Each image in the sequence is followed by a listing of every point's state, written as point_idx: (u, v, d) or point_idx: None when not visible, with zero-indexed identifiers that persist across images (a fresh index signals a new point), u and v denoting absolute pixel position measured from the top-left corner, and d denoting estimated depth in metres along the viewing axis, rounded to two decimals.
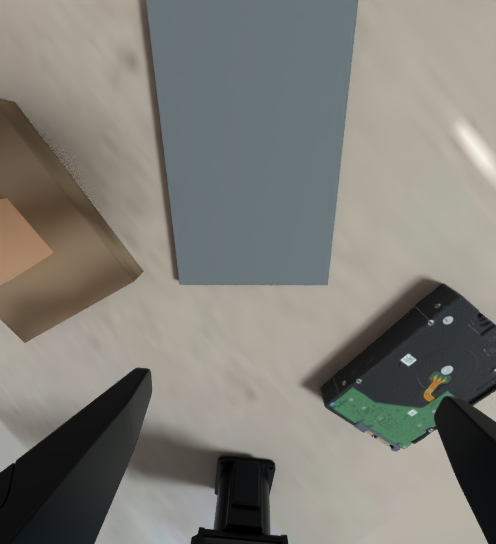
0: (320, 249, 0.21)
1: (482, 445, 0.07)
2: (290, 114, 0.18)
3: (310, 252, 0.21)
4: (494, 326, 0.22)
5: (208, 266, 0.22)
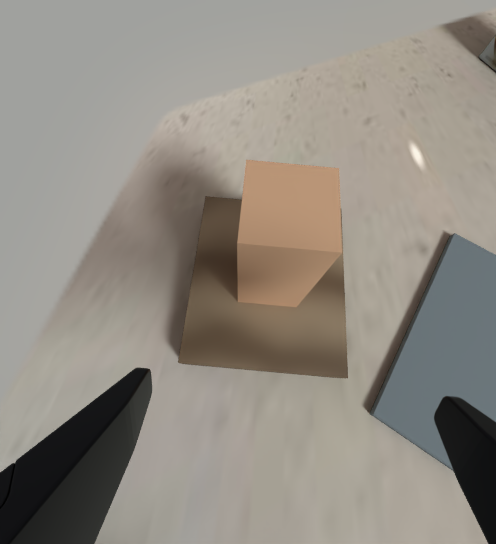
0: None
1: (481, 444, 0.07)
2: None
3: None
4: None
5: (413, 416, 0.20)
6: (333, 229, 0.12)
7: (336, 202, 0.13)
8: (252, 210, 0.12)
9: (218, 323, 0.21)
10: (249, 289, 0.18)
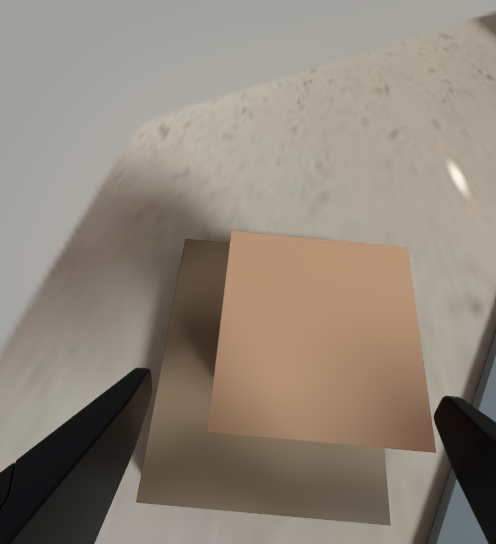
0: None
1: (482, 445, 0.07)
2: None
3: None
4: None
5: None
6: (411, 390, 0.06)
7: (410, 324, 0.06)
8: (242, 345, 0.06)
9: (198, 434, 0.14)
10: None
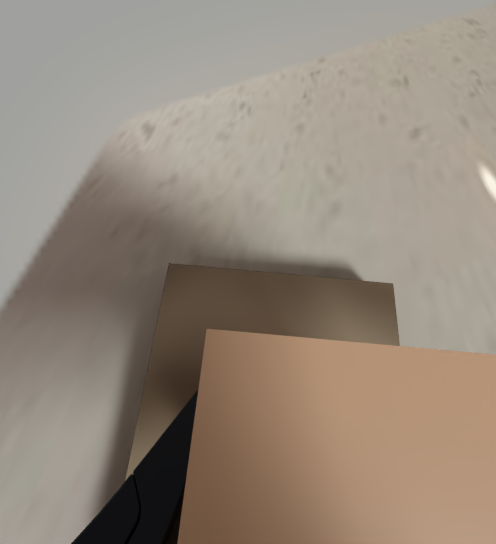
0: None
1: None
2: None
3: None
4: None
5: None
6: None
7: None
8: None
9: None
10: None
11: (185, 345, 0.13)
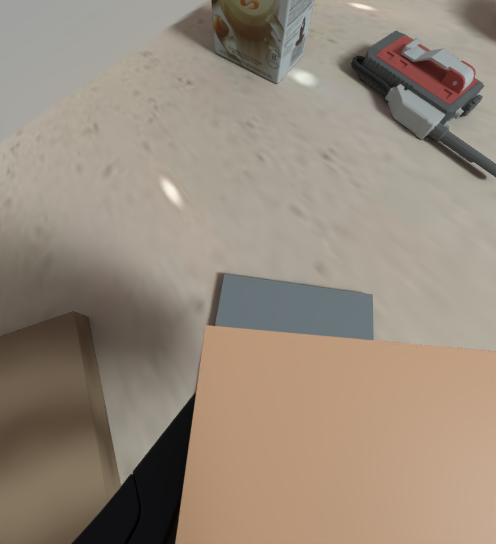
0: None
1: None
2: None
3: None
4: None
5: None
6: None
7: None
8: None
9: None
10: None
11: None
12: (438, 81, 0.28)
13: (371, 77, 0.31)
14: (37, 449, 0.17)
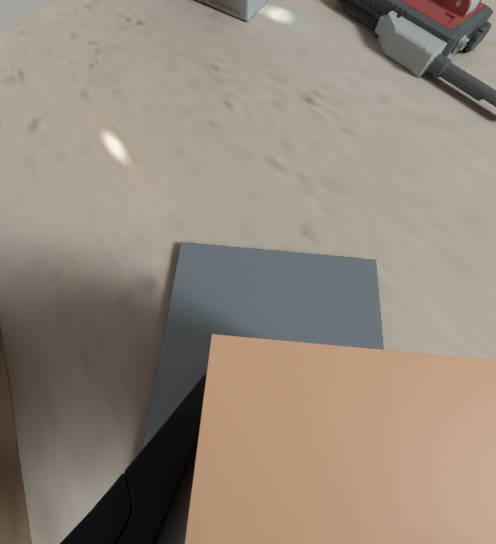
0: None
1: None
2: None
3: None
4: None
5: None
6: None
7: None
8: None
9: None
10: None
11: None
12: (438, 4, 0.23)
13: (358, 7, 0.26)
14: None
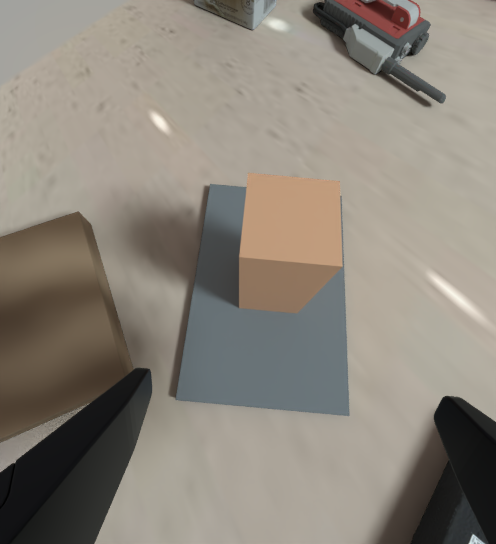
0: (336, 368, 0.20)
1: (482, 444, 0.07)
2: None
3: (326, 371, 0.20)
4: None
5: (214, 379, 0.20)
6: (334, 243, 0.12)
7: (337, 216, 0.13)
8: (254, 224, 0.13)
9: None
10: (250, 297, 0.18)
11: None
12: (388, 19, 0.31)
13: (330, 20, 0.33)
14: (54, 315, 0.19)
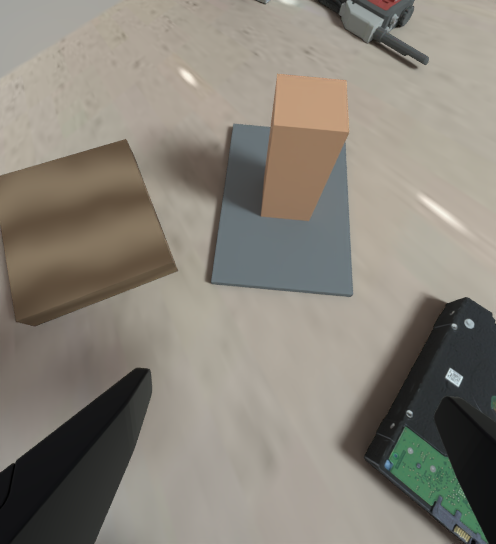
0: (342, 261, 0.24)
1: (482, 444, 0.07)
2: None
3: (333, 263, 0.24)
4: None
5: (242, 267, 0.24)
6: (342, 118, 0.17)
7: (344, 101, 0.17)
8: (283, 105, 0.17)
9: (43, 273, 0.22)
10: (273, 193, 0.22)
11: (18, 208, 0.24)
12: None
13: None
14: (112, 214, 0.24)
